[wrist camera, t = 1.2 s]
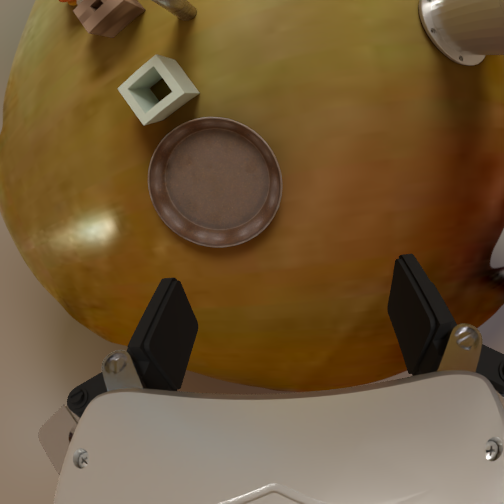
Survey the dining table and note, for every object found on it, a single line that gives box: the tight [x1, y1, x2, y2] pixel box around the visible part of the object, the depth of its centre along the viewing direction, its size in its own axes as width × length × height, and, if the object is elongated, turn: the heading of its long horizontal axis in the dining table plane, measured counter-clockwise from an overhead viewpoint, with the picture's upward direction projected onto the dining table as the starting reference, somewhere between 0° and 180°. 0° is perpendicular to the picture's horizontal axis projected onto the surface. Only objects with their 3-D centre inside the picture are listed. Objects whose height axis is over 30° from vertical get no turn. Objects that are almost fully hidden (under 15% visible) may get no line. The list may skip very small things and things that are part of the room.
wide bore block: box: [118, 55, 200, 126], centre depth 26 cm, size 6×6×6 cm
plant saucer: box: [148, 117, 282, 248], centre depth 34 cm, size 18×18×3 cm
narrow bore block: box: [73, 0, 145, 38], centre depth 19 cm, size 6×6×6 cm
